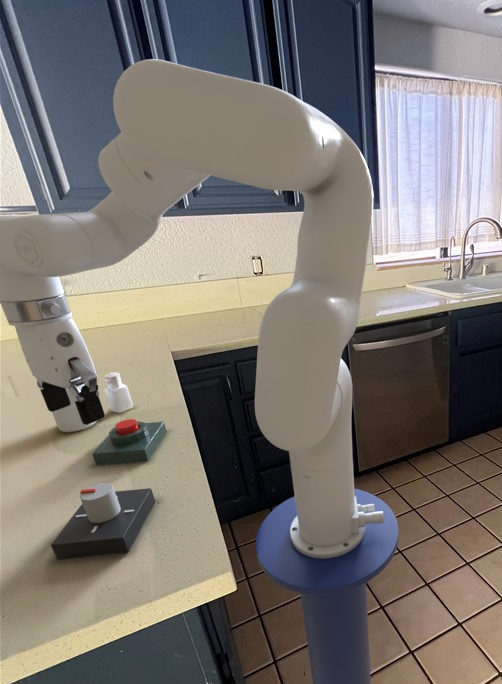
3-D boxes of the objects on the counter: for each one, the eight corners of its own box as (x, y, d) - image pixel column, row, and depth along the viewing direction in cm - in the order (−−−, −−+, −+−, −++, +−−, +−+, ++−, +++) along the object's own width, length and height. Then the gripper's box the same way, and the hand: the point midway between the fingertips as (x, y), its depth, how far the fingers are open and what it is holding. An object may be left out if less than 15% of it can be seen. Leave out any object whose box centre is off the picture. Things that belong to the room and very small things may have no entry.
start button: (141, 425, 92) (139, 418, 91) (134, 434, 89) (132, 427, 88) (122, 427, 92) (119, 419, 91) (114, 436, 88) (111, 429, 87)
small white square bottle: (125, 404, 111) (114, 370, 107) (134, 407, 109) (124, 373, 105) (110, 411, 108) (98, 376, 104) (119, 414, 106) (108, 379, 102)
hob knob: (125, 503, 70) (116, 479, 68) (113, 521, 66) (104, 497, 64) (96, 506, 70) (87, 482, 68) (83, 524, 66) (73, 499, 64)
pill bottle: (80, 434, 97) (58, 373, 91) (50, 431, 99) (25, 371, 92) (106, 417, 104) (87, 360, 98) (77, 416, 106) (56, 358, 99)
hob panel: (155, 501, 75) (151, 487, 74) (128, 552, 65) (122, 536, 63) (95, 507, 74) (89, 492, 73) (57, 560, 63) (49, 544, 62)
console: (166, 431, 98) (162, 414, 96) (148, 460, 87) (142, 441, 85) (120, 435, 97) (114, 417, 95) (95, 465, 86) (88, 446, 84)
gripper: (99, 309, 61) (132, 415, 68) (35, 298, 68) (71, 395, 76) (40, 322, 55) (83, 437, 62) (-22, 309, 62) (23, 412, 70)
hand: (76, 414), depth 69 cm, fingers open, 9 cm apart
